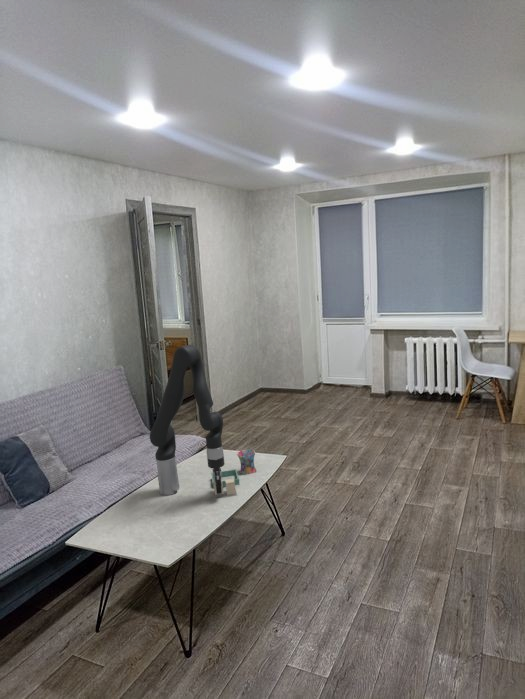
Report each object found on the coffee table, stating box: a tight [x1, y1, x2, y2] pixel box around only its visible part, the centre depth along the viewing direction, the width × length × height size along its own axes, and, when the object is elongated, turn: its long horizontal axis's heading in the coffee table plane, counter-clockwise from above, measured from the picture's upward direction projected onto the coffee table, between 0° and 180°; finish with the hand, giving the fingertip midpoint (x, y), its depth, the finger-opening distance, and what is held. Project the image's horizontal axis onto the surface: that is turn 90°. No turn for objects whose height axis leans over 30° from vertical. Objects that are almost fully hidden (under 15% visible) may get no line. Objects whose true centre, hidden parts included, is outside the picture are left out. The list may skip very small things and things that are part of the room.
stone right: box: [224, 478, 237, 496], centre depth 233 cm, size 4×4×6 cm
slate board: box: [214, 488, 238, 500], centre depth 233 cm, size 10×7×1 cm
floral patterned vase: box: [236, 449, 257, 475], centre depth 258 cm, size 12×9×11 cm
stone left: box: [213, 479, 225, 496], centre depth 232 cm, size 4×4×6 cm
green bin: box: [210, 469, 240, 489], centre depth 247 cm, size 13×13×4 cm
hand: (219, 491), depth 233 cm, fingers closed on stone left, 4 cm apart
